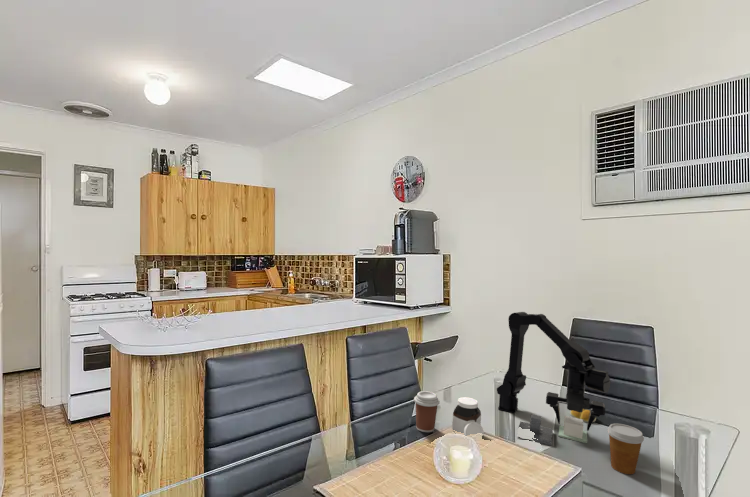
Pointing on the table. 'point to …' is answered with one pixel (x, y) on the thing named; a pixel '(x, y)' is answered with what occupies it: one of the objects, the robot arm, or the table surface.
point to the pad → (561, 431)
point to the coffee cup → (426, 410)
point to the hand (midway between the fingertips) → (573, 427)
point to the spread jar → (467, 417)
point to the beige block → (573, 427)
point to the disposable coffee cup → (624, 447)
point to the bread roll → (581, 415)
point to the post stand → (538, 430)
